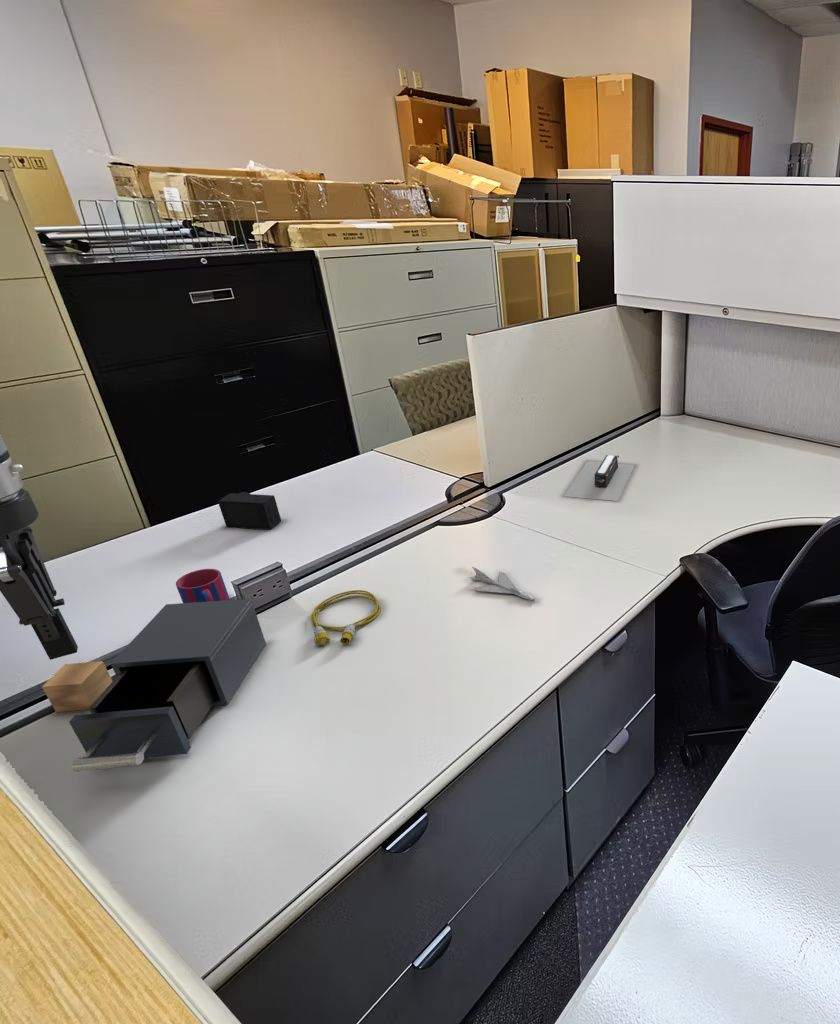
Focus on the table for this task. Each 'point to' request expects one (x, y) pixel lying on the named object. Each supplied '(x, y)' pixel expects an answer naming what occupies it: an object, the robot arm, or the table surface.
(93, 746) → the drawer
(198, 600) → the mug
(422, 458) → the table surface
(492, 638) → the table surface
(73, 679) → the block
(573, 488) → the bus
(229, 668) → the cabinet
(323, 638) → the extension cord
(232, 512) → the digital camera
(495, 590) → the toy airplane
